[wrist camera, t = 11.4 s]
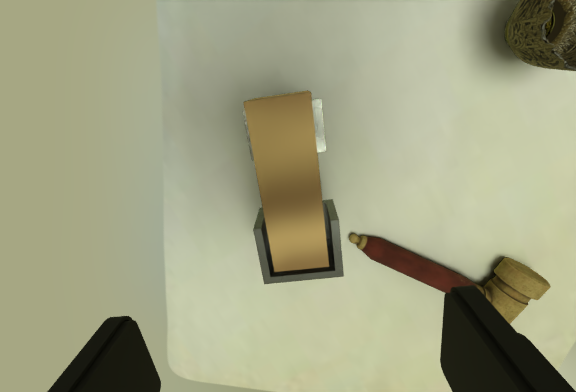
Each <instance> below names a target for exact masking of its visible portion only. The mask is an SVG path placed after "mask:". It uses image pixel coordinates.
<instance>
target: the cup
mask: <svg viewBox="0 0 576 392" xmlns="http://www.w3.org/2000/svg"><path fill="white" fill-rule="evenodd" d="M504 36H505V40H506V42H507V44H508V45H509V46H510V47H511V49H512V51H513V52H514V54H515V55H516V56H517V57H518V58H520V59H521V60H522V61H524V62H526V63H528V64H531V65H533V66H537V67H542V68H549V69H558V70H569V71H576V0H520V1H519V3H518V4H517V6H516V8H515V9H514V11H513V14H512V15H511V17H510V18H509V20H508V22H507V24H506V27H505V32H504Z"/></svg>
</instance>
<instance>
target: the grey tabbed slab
mask: <svg viewBox="0 0 576 392" xmlns="http://www.w3.org/2000/svg"><path fill="white" fill-rule="evenodd" d="M312 107H313V117H314V126H315V136H316V146H317V152H324V151H326V145H325V134H324V123H323V113H322V102H321V98H319V99H312ZM243 116H244V121H245V126H246V132H247V137H248V142H249V148H250V153H251V158H252V161H254V157H253V152H252V146H251V141H250V135H249V130H248V124H247V119H246V113H245V109H244V110H243Z"/></svg>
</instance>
